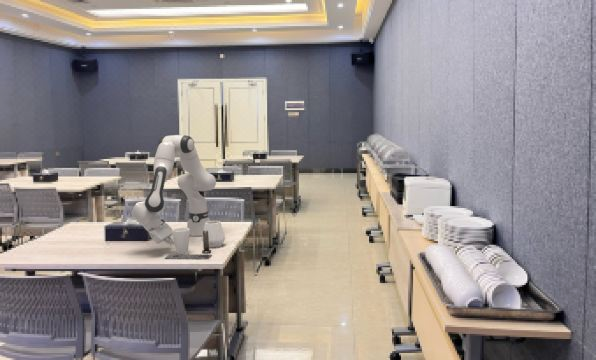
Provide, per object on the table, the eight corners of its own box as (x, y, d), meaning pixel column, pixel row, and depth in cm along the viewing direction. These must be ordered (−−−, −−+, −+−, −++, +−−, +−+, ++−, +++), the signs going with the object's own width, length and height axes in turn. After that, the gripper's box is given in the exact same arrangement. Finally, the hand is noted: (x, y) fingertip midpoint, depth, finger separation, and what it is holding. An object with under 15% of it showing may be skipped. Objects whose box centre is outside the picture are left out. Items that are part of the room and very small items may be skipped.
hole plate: (169, 255, 285) (169, 254, 285) (212, 255, 282) (212, 254, 282) (164, 259, 278) (164, 257, 278) (208, 259, 275) (208, 257, 275)
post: (203, 251, 292) (202, 230, 290) (212, 251, 291) (211, 230, 290) (200, 253, 287) (199, 232, 285) (209, 253, 286) (208, 232, 285)
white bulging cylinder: (229, 243, 308) (228, 220, 307) (219, 249, 296) (218, 224, 294) (208, 242, 312) (207, 219, 310) (198, 248, 299) (197, 224, 298)
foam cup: (176, 255, 284) (175, 232, 282) (170, 252, 292) (169, 229, 290) (193, 252, 289) (191, 229, 287) (187, 249, 297) (186, 227, 295)
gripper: (150, 226, 280) (169, 244, 280) (165, 219, 300) (182, 235, 300) (143, 234, 281) (161, 252, 281) (158, 226, 301) (175, 243, 301)
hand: (172, 243), depth 291 cm, fingers closed, pressing on foam cup
